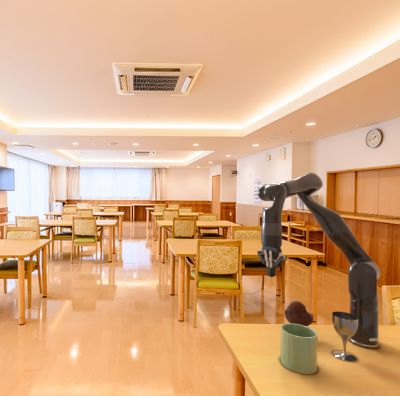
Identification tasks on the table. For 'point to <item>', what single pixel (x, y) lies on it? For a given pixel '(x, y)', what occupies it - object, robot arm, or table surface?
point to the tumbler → (298, 348)
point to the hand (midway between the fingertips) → (271, 276)
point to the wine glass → (345, 332)
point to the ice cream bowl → (298, 314)
